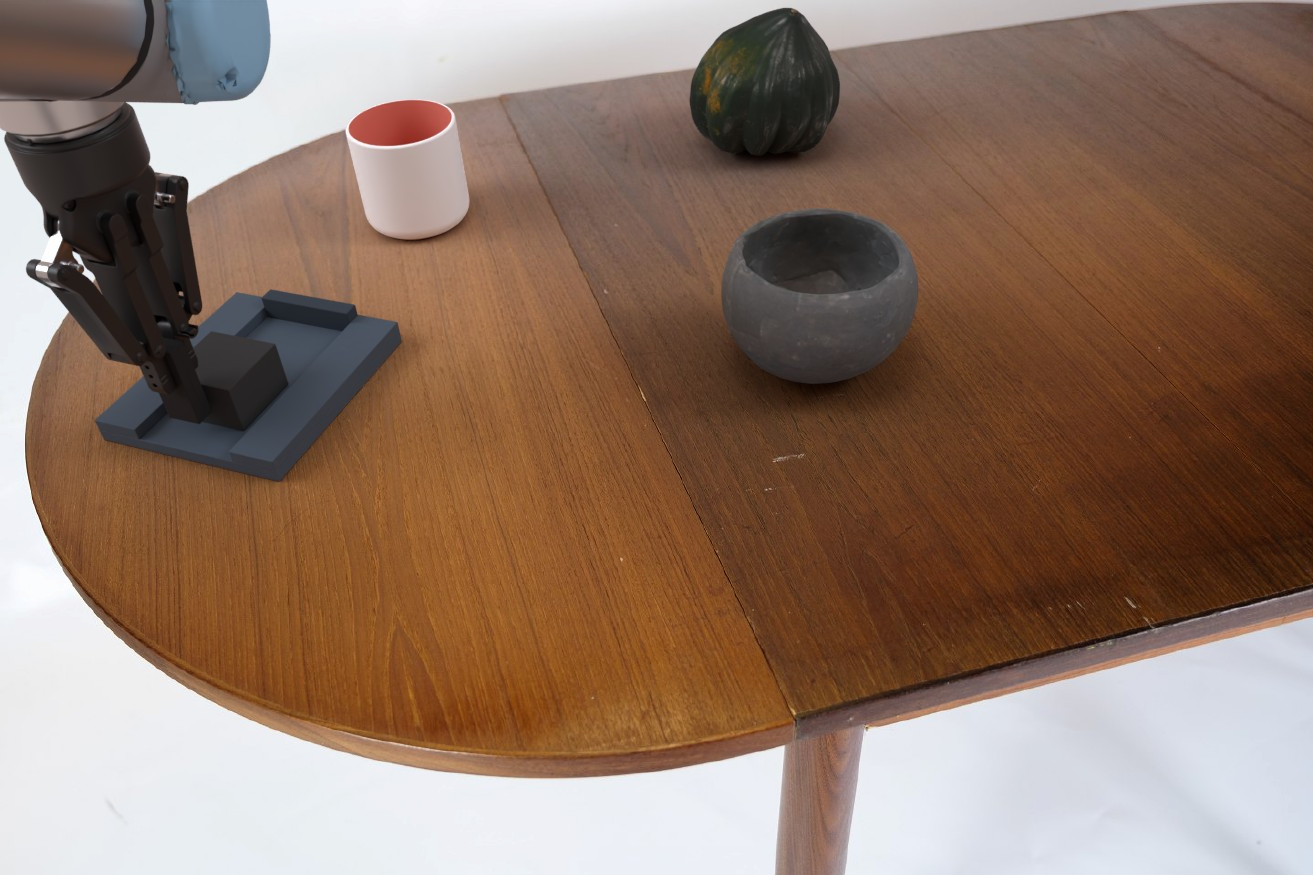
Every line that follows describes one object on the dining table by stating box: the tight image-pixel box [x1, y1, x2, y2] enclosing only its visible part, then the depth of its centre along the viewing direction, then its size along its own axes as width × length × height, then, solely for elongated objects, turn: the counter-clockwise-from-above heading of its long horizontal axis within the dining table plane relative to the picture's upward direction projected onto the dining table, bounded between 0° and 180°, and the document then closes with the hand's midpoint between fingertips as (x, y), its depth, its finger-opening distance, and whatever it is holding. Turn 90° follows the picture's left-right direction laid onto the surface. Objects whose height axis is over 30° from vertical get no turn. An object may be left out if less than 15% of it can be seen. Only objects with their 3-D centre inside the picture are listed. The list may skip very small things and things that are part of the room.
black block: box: [193, 331, 288, 431], centre depth 87 cm, size 6×6×4 cm
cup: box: [345, 98, 470, 240], centre depth 107 cm, size 10×10×10 cm
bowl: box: [720, 207, 919, 385], centre depth 87 cm, size 15×15×10 cm
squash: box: [689, 7, 841, 156], centre depth 115 cm, size 14×15×15 cm
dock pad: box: [94, 288, 403, 483], centre depth 90 cm, size 18×16×3 cm
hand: (190, 414), depth 84 cm, fingers closed
